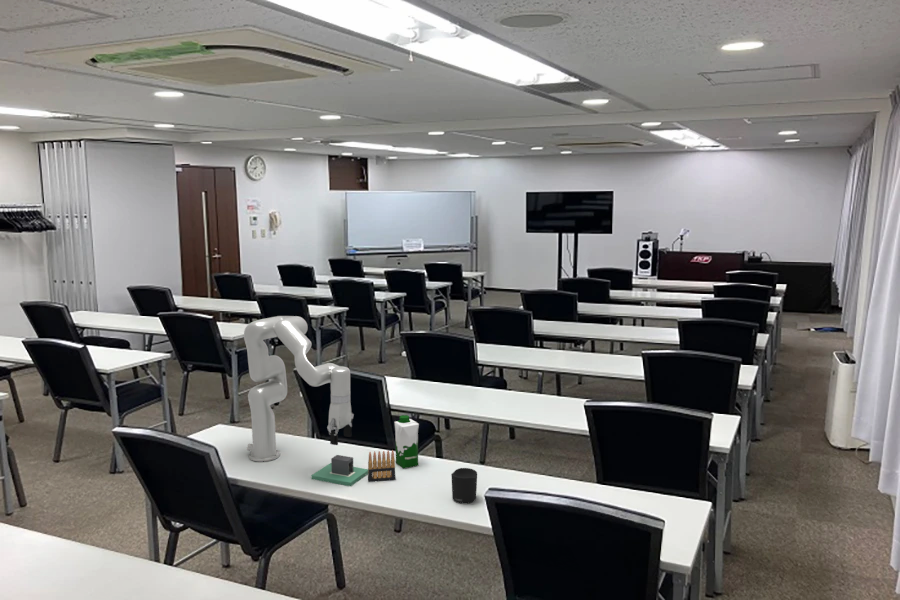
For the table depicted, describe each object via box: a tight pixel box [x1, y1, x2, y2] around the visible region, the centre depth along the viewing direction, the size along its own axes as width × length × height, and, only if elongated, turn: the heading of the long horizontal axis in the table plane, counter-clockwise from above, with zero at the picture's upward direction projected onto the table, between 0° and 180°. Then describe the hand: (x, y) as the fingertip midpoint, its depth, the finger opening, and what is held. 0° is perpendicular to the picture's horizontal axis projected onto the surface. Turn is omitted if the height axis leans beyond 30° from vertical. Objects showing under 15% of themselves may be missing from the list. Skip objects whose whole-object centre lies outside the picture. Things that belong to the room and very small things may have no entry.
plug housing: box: [330, 454, 354, 476], centre depth 266 cm, size 8×4×6 cm, turn 67°
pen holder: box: [450, 467, 478, 504], centre depth 246 cm, size 9×9×10 cm
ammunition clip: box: [367, 449, 397, 483], centre depth 262 cm, size 11×2×12 cm, turn 101°
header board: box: [310, 462, 368, 487], centre depth 267 cm, size 18×14×5 cm
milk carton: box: [394, 414, 420, 470], centre depth 277 cm, size 9×9×20 cm
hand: (340, 440), depth 265 cm, fingers open, 9 cm apart
